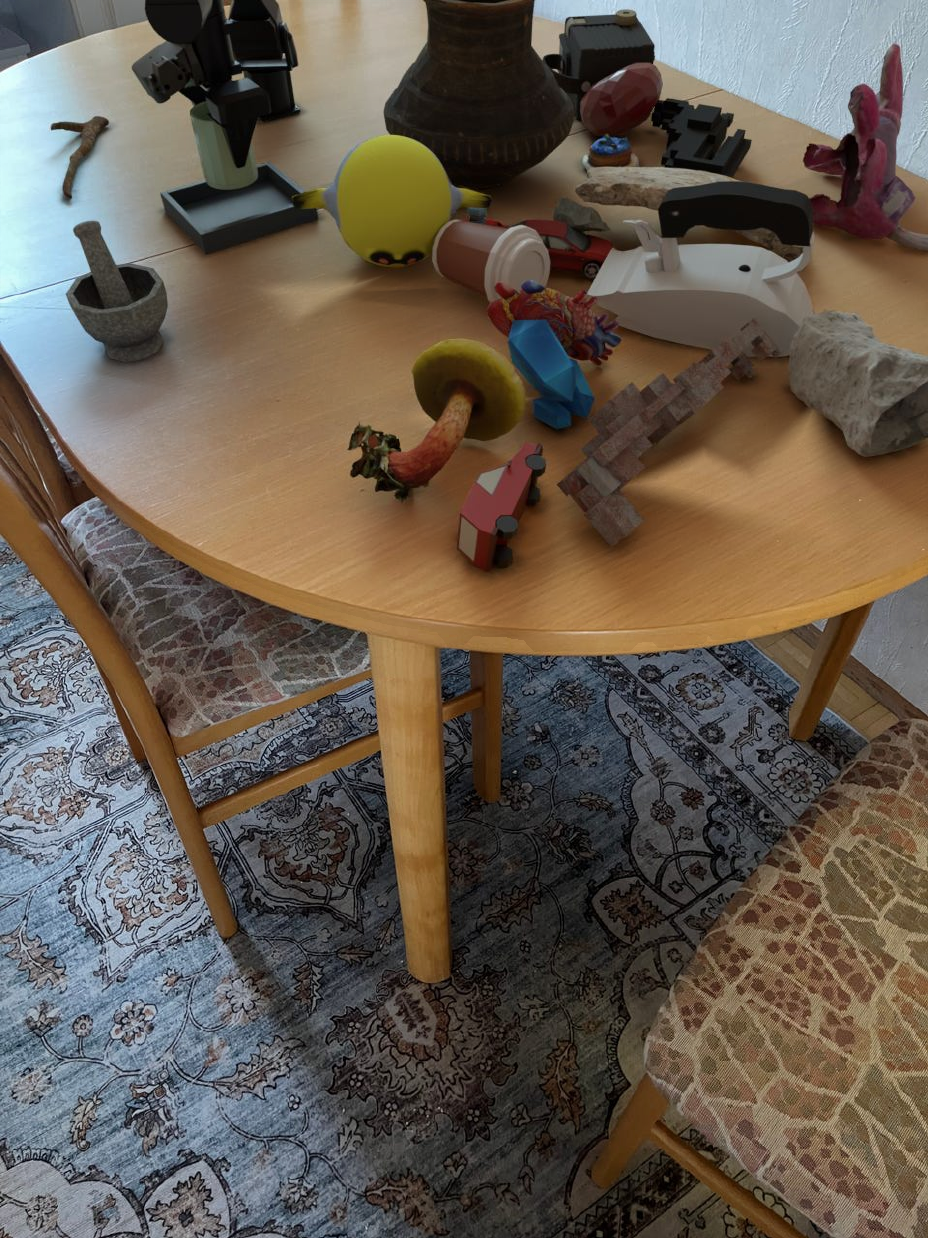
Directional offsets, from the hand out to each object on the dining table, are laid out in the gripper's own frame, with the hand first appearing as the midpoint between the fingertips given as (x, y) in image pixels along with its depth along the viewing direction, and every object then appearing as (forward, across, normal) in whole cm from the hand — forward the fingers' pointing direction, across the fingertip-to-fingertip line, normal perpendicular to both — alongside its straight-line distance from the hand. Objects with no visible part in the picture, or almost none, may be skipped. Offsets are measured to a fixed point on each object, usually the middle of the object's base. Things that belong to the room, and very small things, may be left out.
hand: (228, 156), depth 112 cm
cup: (+2, 0, 0) cm, 3 cm away
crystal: (+5, +61, +8) cm, 61 cm away
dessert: (+9, +18, +48) cm, 52 cm away
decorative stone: (0, +80, +33) cm, 86 cm away
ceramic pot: (+7, +9, +31) cm, 33 cm away
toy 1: (+7, +17, +12) cm, 22 cm away
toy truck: (+5, +69, -3) cm, 69 cm away
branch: (+8, -28, -11) cm, 31 cm away
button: (+2, +24, +21) cm, 32 cm away
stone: (+2, +30, +28) cm, 42 cm away
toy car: (+7, +34, +25) cm, 43 cm away
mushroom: (+2, +63, -11) cm, 64 cm away
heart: (+3, +14, +51) cm, 53 cm away
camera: (+2, +1, +66) cm, 66 cm away
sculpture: (+4, +62, +29) cm, 69 cm away
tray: (+7, 0, 0) cm, 7 cm away
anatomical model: (-4, +48, +8) cm, 49 cm away
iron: (+7, +52, +32) cm, 62 cm away
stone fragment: (+5, +30, +47) cm, 57 cm away
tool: (+8, +22, +57) cm, 62 cm away
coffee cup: (+4, +29, +14) cm, 32 cm away
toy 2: (-2, +40, +60) cm, 72 cm away
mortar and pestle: (+7, +20, -22) cm, 31 cm away
